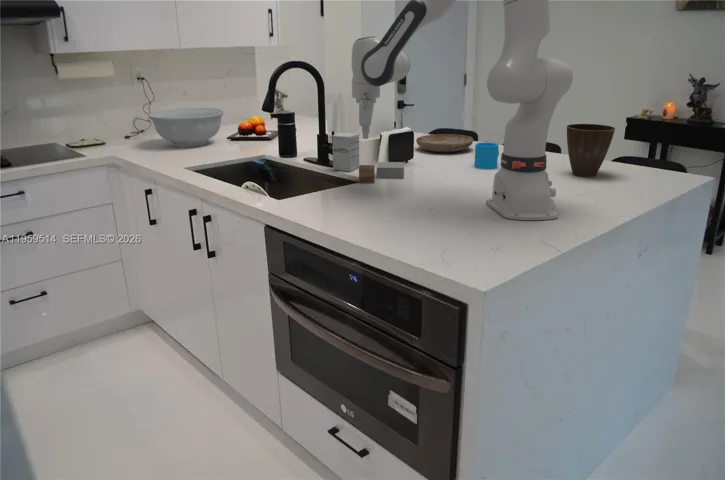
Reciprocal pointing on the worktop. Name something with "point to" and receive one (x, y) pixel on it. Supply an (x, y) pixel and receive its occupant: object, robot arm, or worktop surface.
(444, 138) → the shallow wooden dish
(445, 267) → the worktop surface
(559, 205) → the worktop surface
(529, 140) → the robot arm
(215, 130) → the bowl
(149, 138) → the worktop surface
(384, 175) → the grey base
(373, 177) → the walnut cube
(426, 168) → the worktop surface
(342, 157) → the supplement box
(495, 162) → the mug
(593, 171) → the plant pot
